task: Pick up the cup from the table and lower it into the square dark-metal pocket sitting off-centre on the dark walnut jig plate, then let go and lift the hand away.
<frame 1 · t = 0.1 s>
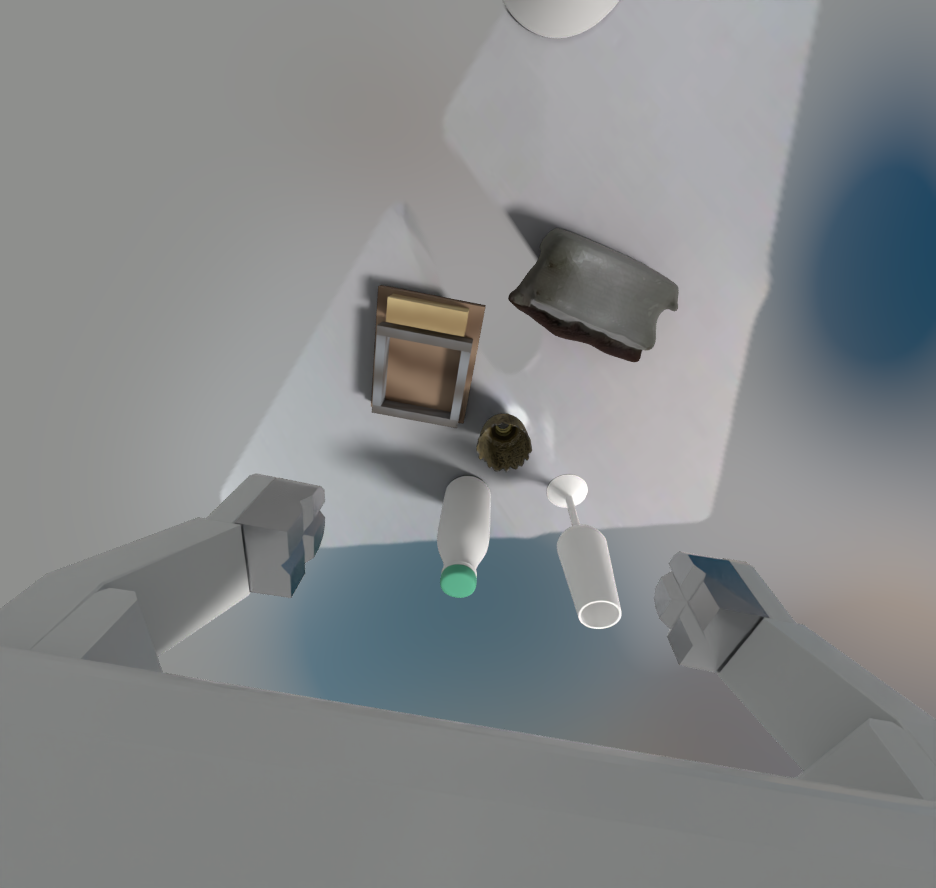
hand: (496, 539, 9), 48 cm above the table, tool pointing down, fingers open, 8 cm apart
milk bottle: (468, 492, 67), on the table
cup: (503, 423, 61), on the table
jig: (425, 357, 56), on the table
rock: (589, 295, 51), on the table
champagne flute: (566, 490, 66), on the table
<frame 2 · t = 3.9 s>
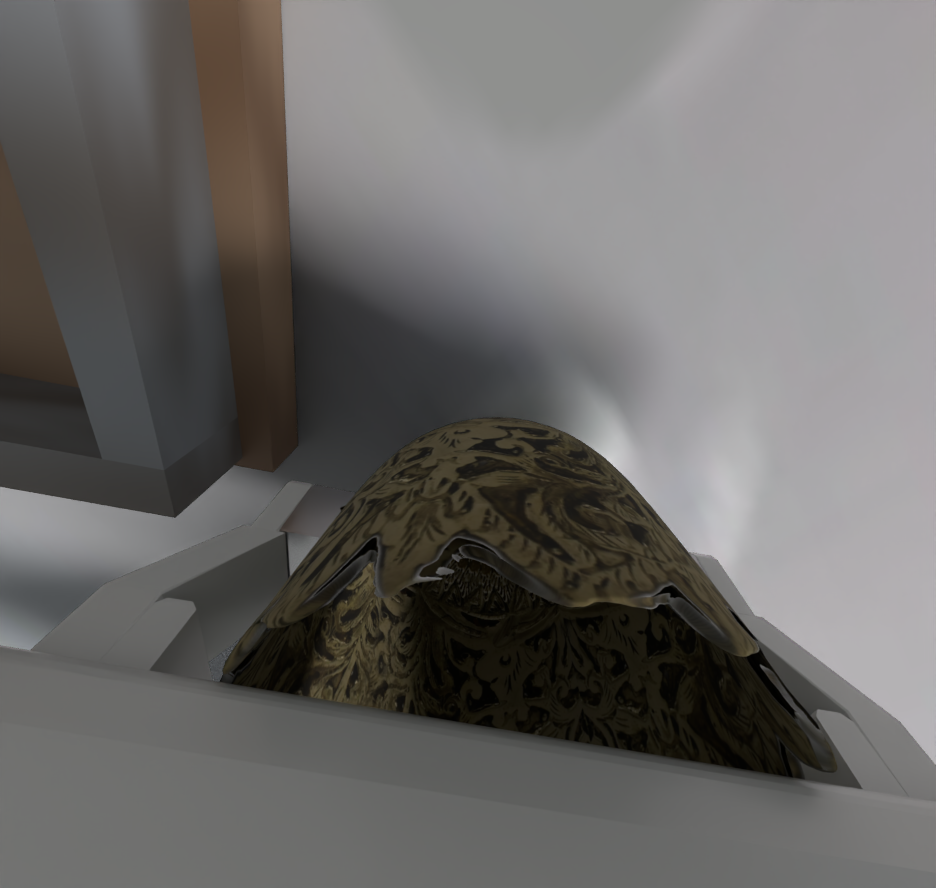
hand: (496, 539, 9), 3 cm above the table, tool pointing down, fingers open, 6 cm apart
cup: (495, 464, 12), on the table, touching gripper
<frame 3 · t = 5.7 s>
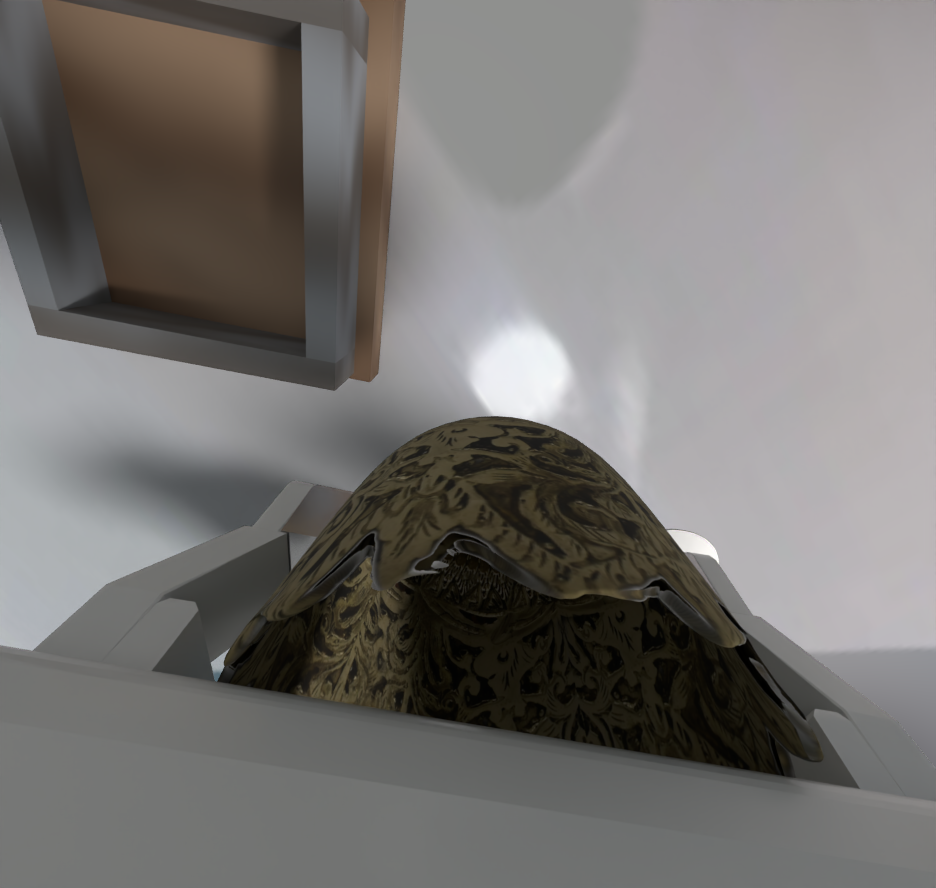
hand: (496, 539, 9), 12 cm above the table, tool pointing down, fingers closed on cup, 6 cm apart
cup: (493, 462, 12), point 9 cm above the table, touching gripper
jig: (224, 143, 16), on the table
champagne flute: (661, 568, 25), on the table
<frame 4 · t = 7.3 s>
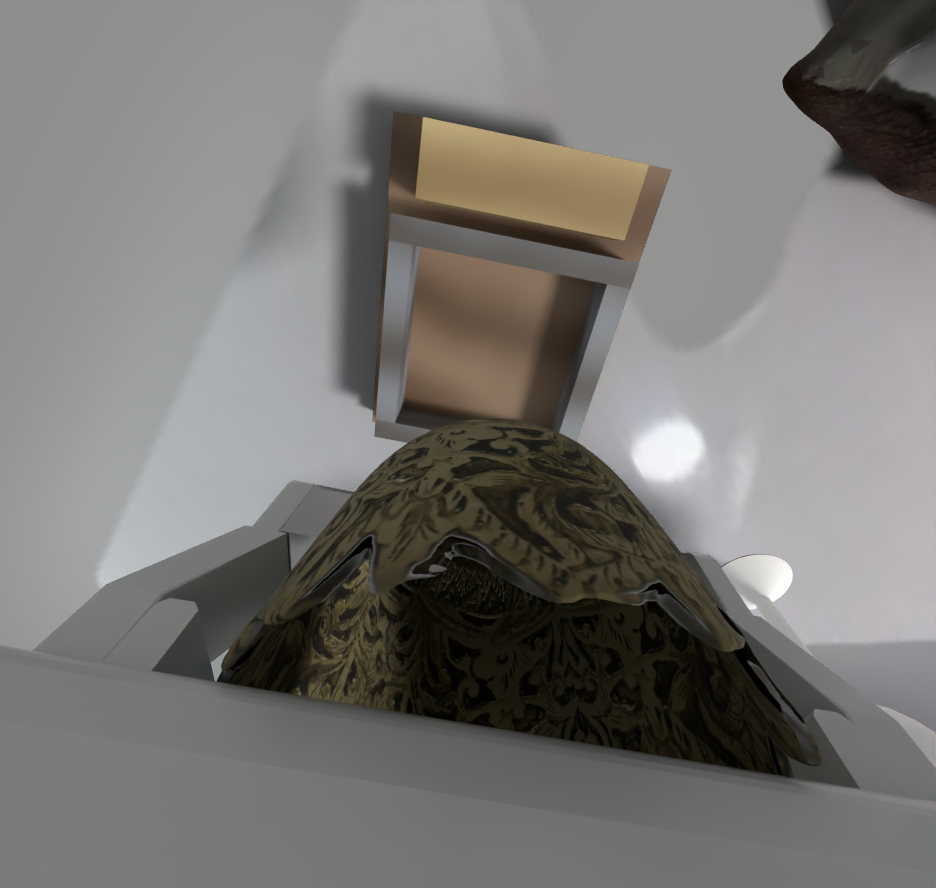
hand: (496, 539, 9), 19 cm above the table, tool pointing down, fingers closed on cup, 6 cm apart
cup: (493, 464, 12), point 15 cm above the table, touching gripper
jig: (497, 311, 25), on the table
champagne flute: (748, 581, 34), on the table
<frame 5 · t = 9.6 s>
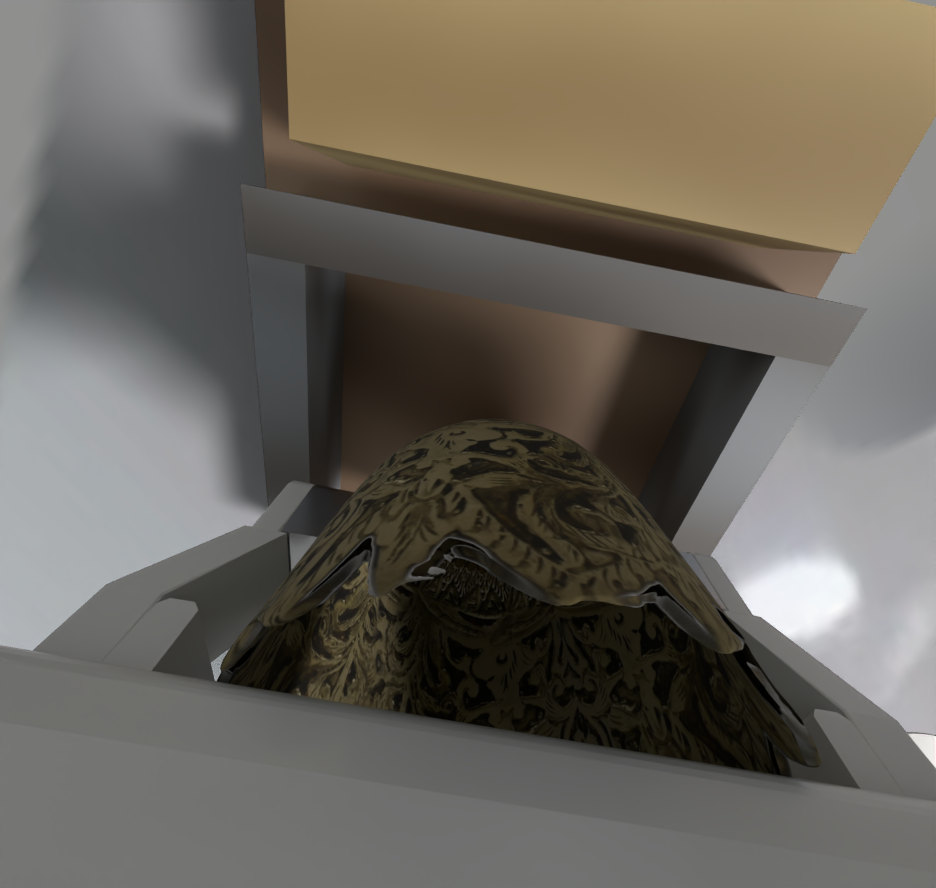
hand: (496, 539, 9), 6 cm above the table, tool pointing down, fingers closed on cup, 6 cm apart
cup: (492, 464, 12), point 2 cm above the table, touching gripper
jig: (507, 381, 13), on the table
champagne flute: (884, 760, 23), on the table
when the fingers open (6 cm above the table, at t = 10.5 s): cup moves 1 cm, resting on jig.
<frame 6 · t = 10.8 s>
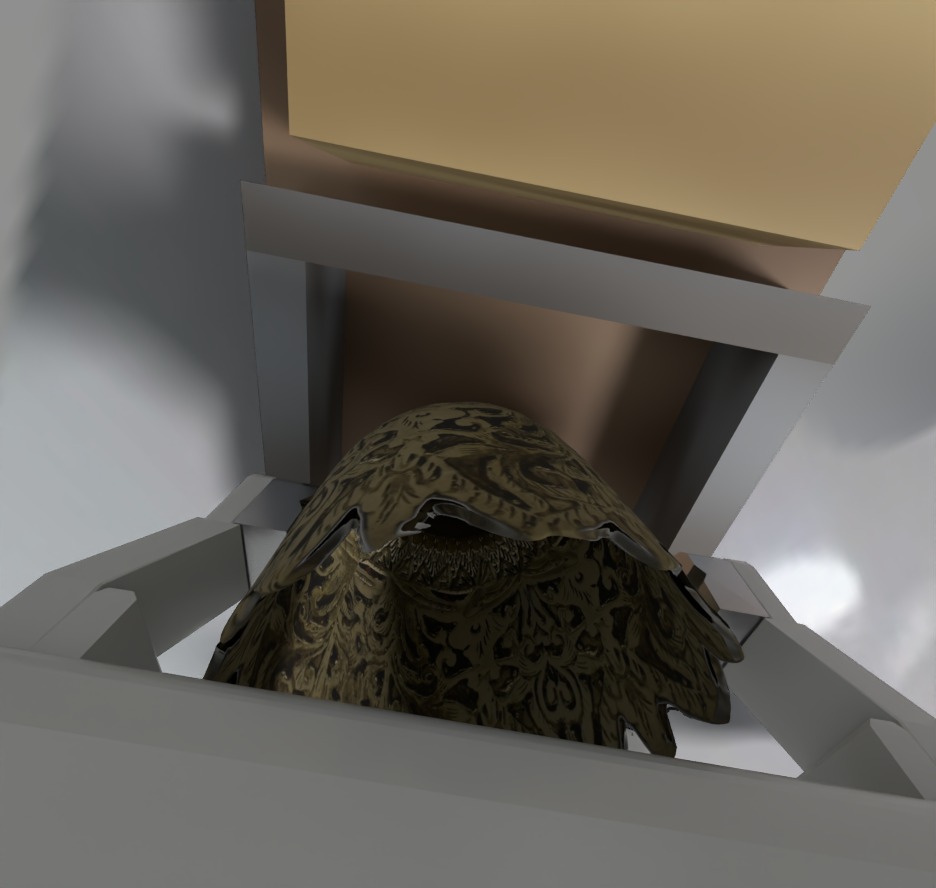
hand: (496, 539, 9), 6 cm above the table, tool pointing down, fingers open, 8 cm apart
milk bottle: (589, 749, 24), on the table
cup: (454, 449, 13), point 2 cm above the table, touching gripper, jig
jig: (508, 380, 13), on the table
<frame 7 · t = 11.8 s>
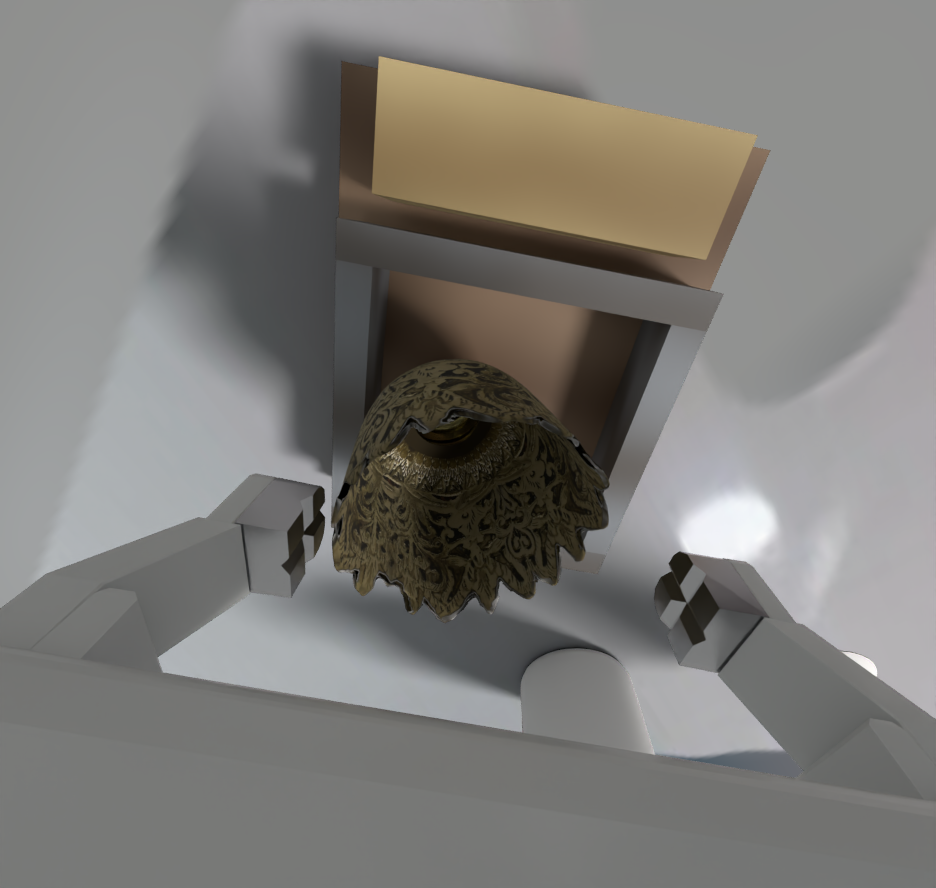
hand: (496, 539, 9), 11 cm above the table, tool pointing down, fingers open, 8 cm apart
milk bottle: (573, 676, 29), on the table
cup: (440, 395, 17), point 2 cm above the table, touching jig
jig: (502, 354, 18), on the table
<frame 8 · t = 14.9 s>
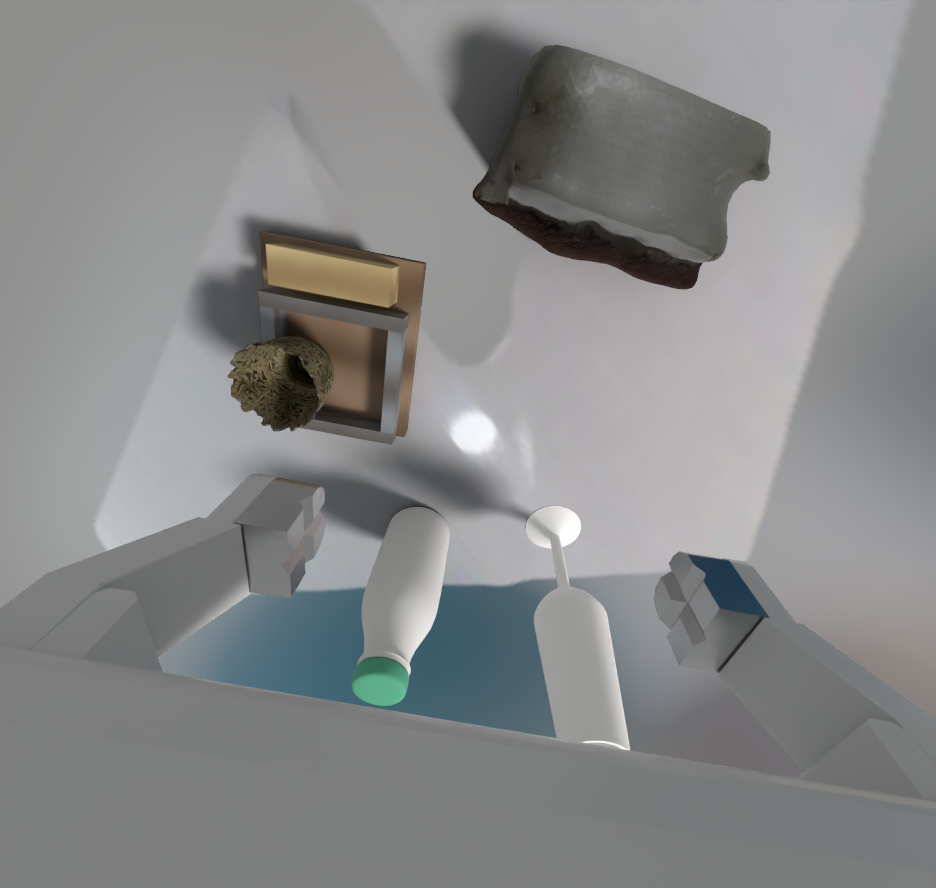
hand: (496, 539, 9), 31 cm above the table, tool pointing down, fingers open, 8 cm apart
milk bottle: (420, 528, 50), on the table
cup: (316, 359, 39), point 1 cm above the table, touching jig
jig: (345, 342, 39), on the table
rock: (605, 188, 32), on the table
champagne flute: (552, 526, 48), on the table
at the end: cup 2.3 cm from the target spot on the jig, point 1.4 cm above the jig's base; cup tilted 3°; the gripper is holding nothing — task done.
